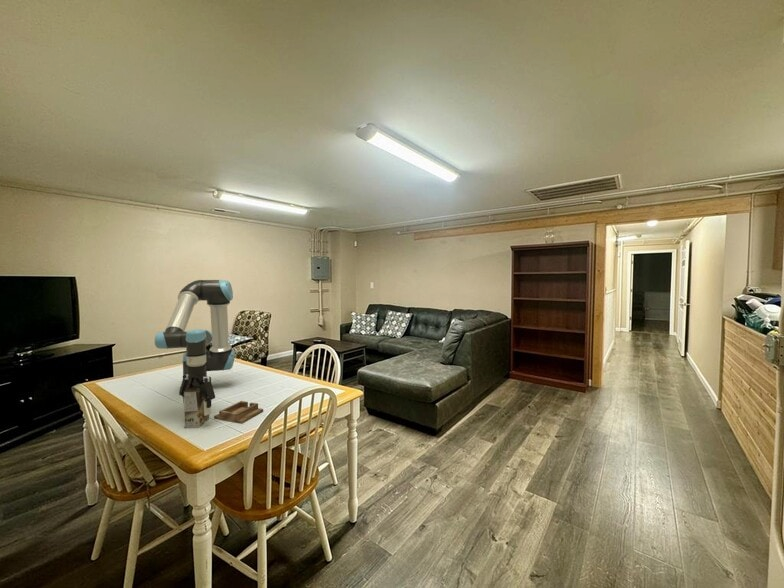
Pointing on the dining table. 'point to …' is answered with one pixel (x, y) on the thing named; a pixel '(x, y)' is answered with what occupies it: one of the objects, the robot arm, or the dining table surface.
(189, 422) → the coffee box
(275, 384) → the dining table surface
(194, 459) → the dining table surface
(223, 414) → the pocket board
